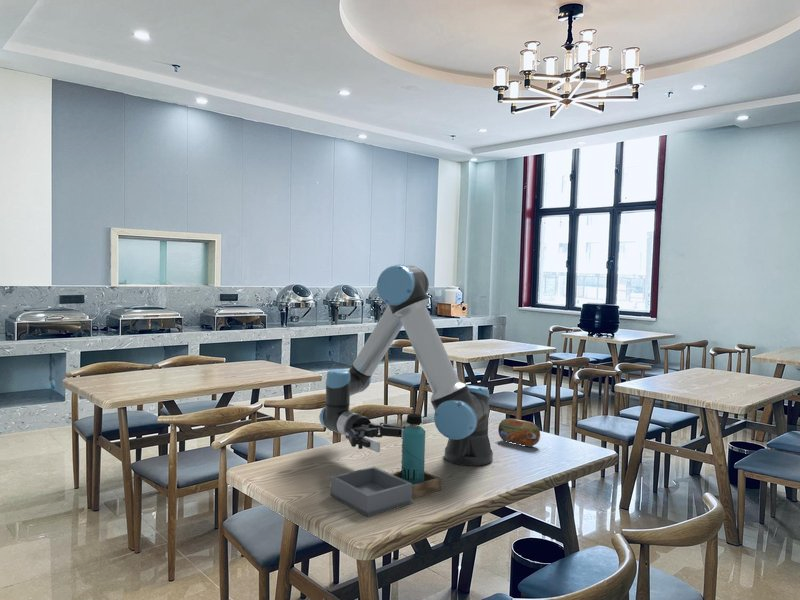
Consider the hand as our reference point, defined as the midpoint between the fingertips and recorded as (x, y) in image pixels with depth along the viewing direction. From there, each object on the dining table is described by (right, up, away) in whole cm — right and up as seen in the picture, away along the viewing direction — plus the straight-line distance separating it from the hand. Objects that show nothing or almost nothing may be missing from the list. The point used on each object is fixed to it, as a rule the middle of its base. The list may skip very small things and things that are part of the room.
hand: (398, 443), depth 160 cm
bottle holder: (+4, -11, -3) cm, 12 cm away
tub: (-7, -11, -12) cm, 18 cm away
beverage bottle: (+4, -11, -3) cm, 13 cm away
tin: (+41, -11, +40) cm, 59 cm away
